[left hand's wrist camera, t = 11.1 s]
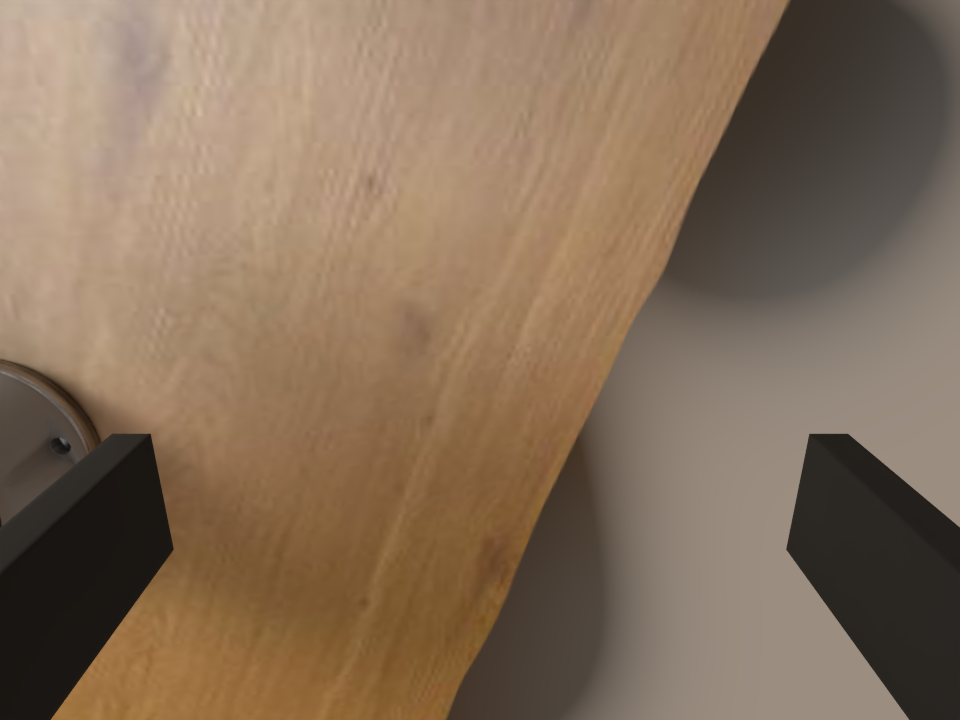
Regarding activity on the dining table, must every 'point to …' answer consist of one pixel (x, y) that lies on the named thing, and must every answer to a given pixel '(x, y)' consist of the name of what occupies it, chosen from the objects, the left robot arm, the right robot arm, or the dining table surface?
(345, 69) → the dining table surface
